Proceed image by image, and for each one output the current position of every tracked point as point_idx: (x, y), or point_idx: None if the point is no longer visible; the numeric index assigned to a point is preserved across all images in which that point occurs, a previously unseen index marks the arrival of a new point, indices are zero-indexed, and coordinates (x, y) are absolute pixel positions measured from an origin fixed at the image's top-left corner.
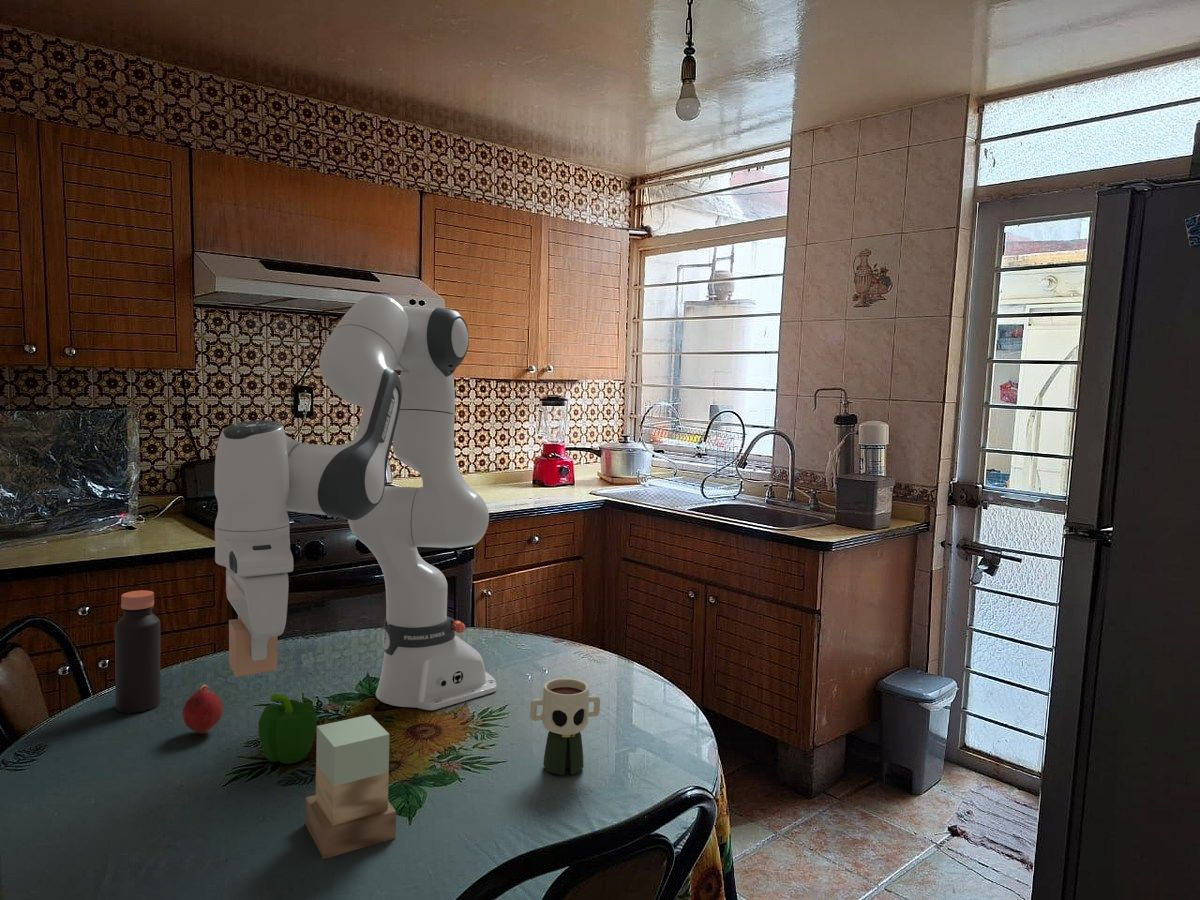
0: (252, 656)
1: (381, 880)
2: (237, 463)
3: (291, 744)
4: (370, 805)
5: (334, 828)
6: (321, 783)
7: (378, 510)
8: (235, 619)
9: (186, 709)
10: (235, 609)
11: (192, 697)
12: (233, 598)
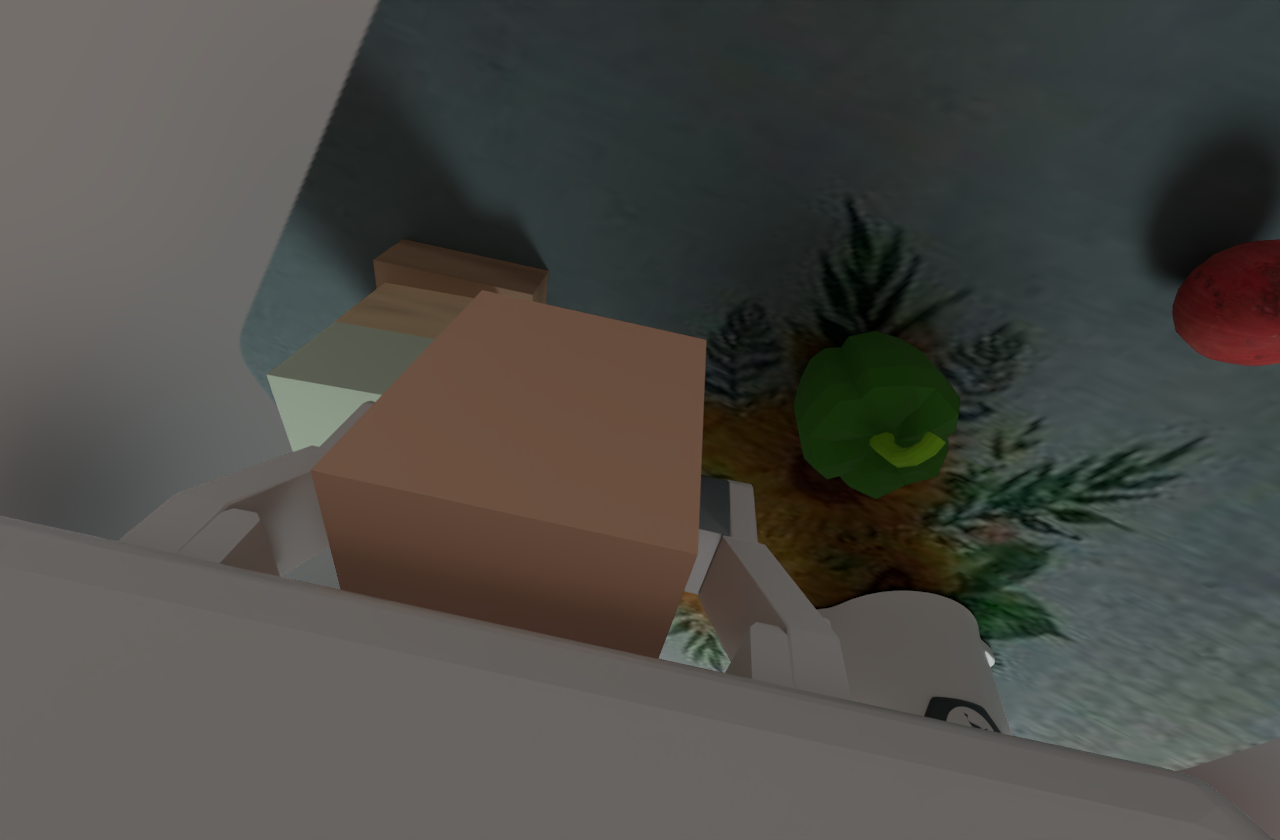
0: (354, 412)
1: (295, 284)
2: None
3: (803, 383)
4: None
5: (377, 280)
6: (442, 322)
7: None
8: (675, 588)
9: None
10: (651, 686)
11: None
12: (767, 830)
